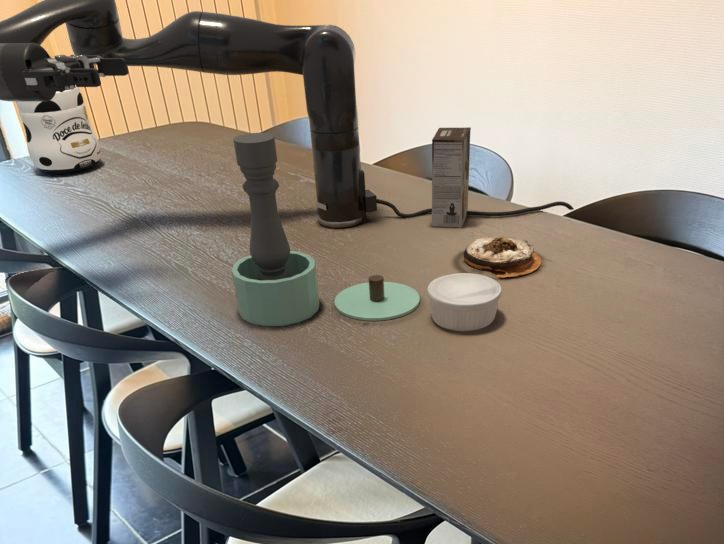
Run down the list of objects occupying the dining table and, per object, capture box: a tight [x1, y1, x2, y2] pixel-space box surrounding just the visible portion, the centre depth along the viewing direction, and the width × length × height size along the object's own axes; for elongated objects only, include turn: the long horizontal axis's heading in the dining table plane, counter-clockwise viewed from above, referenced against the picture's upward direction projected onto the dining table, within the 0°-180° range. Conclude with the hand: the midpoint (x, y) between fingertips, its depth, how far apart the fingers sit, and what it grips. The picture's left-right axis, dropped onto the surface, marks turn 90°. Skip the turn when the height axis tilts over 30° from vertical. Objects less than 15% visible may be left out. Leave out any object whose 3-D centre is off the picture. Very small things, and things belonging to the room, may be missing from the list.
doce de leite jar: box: [15, 87, 102, 174], centre depth 179 cm, size 17×17×18 cm
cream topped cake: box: [463, 236, 542, 279], centre depth 125 cm, size 15×15×4 cm
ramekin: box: [426, 272, 503, 332], centre depth 108 cm, size 11×11×5 cm
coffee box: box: [431, 127, 472, 228], centre depth 139 cm, size 9×6×16 cm
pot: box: [230, 250, 321, 327], centre depth 112 cm, size 13×13×8 cm
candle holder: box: [232, 132, 291, 281], centre depth 106 cm, size 6×6×25 cm
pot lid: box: [333, 274, 421, 322], centre depth 113 cm, size 14×14×5 cm
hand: (112, 72), depth 105 cm, fingers open, 8 cm apart
